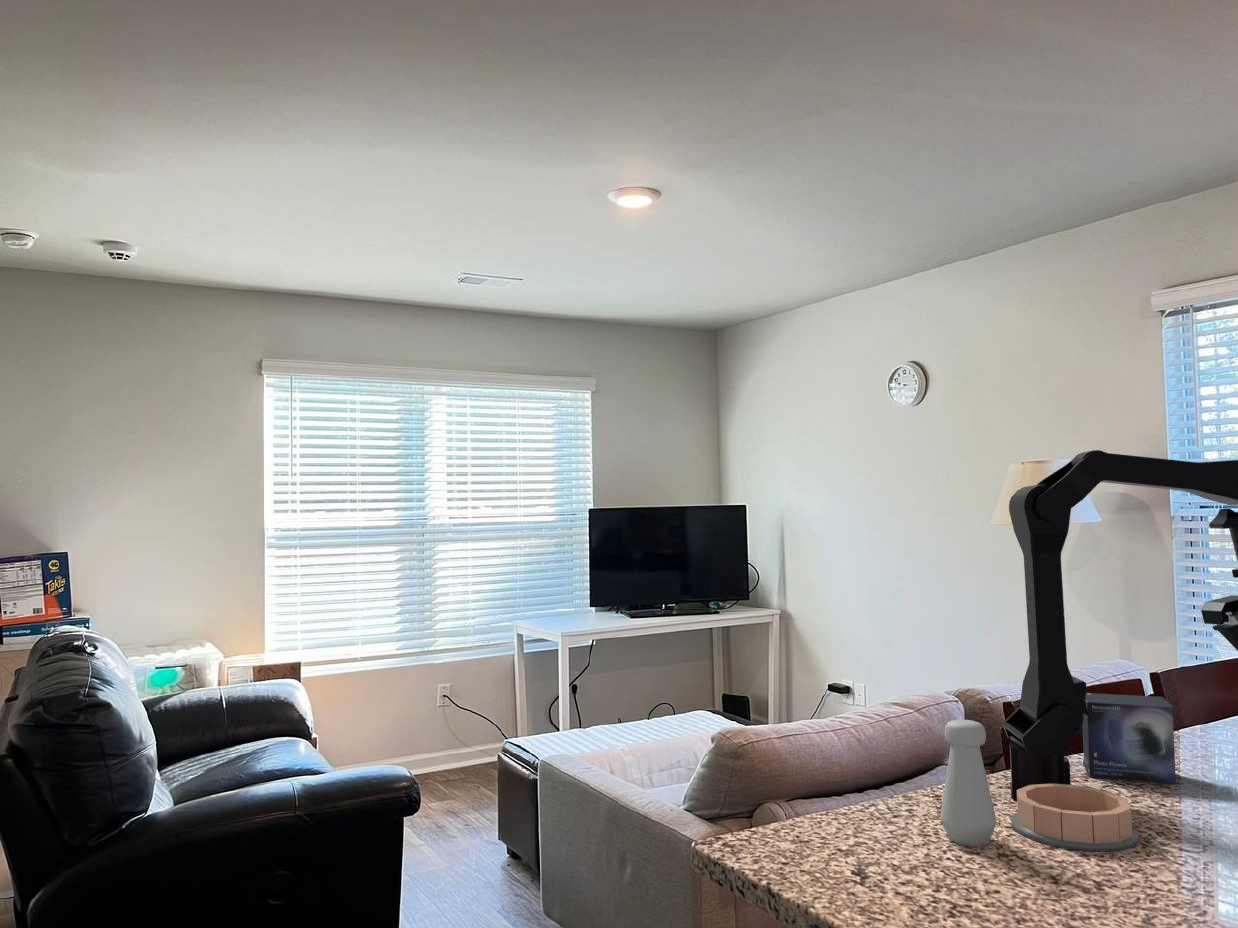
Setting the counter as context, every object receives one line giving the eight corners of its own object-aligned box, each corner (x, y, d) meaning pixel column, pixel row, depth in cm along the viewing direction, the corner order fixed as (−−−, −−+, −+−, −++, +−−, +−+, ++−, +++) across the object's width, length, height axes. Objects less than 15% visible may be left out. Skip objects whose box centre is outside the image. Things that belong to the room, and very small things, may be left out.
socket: (1013, 842, 101) (1011, 809, 101) (1010, 807, 113) (1008, 777, 113) (1148, 857, 96) (1146, 822, 96) (1129, 818, 108) (1128, 787, 108)
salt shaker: (934, 831, 105) (930, 715, 106) (985, 830, 105) (981, 715, 105) (951, 849, 99) (947, 727, 100) (1005, 849, 99) (1000, 727, 99)
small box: (1088, 778, 125) (1085, 700, 125) (1082, 766, 131) (1079, 691, 131) (1178, 785, 121) (1173, 704, 122) (1167, 772, 127) (1163, 695, 128)
